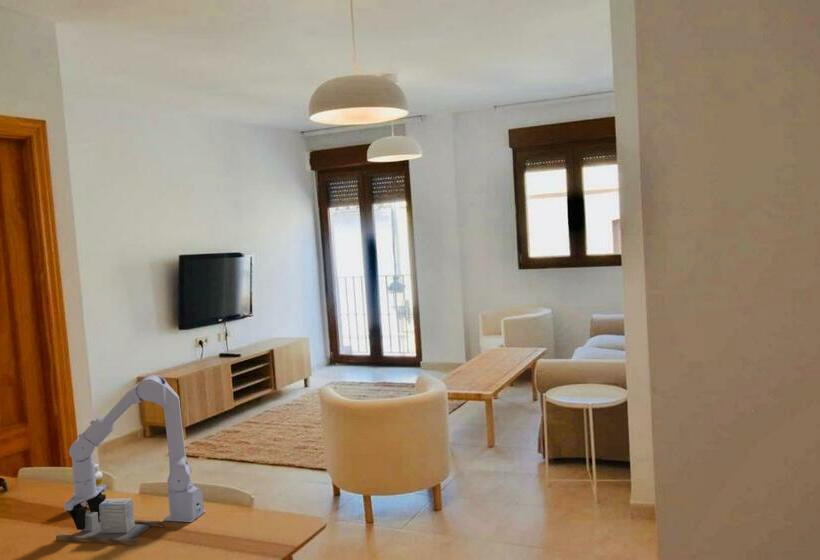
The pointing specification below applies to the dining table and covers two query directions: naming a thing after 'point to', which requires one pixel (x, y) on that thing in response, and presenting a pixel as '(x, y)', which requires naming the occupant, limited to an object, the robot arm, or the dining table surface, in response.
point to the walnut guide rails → (105, 539)
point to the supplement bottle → (98, 481)
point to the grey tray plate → (95, 531)
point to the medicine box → (117, 515)
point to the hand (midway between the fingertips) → (88, 524)
